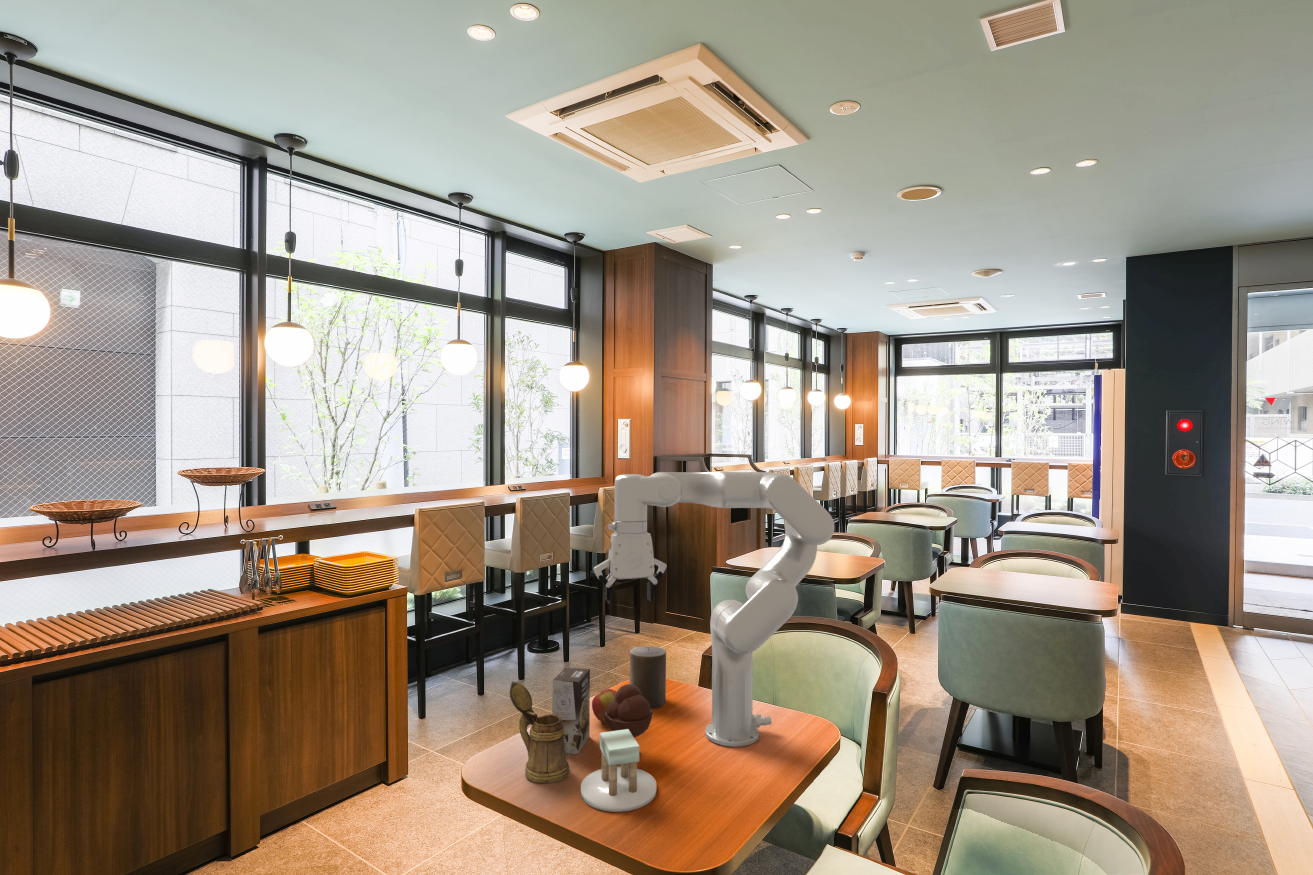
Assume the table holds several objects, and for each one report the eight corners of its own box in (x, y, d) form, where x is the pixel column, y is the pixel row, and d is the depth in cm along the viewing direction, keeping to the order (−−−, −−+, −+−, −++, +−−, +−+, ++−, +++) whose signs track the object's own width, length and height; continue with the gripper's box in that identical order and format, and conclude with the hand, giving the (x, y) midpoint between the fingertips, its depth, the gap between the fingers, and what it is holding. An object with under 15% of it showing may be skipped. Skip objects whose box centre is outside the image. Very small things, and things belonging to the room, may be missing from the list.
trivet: (643, 767, 143) (643, 761, 143) (666, 804, 129) (666, 797, 129) (573, 778, 138) (573, 772, 138) (589, 817, 124) (589, 811, 124)
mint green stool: (639, 792, 131) (639, 745, 131) (609, 796, 129) (609, 750, 129) (628, 772, 138) (628, 728, 138) (599, 776, 136) (599, 732, 136)
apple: (609, 713, 171) (609, 681, 171) (630, 722, 166) (631, 690, 166) (586, 721, 166) (586, 689, 166) (607, 732, 160) (608, 698, 160)
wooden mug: (522, 755, 148) (522, 674, 148) (576, 767, 143) (577, 682, 143) (498, 774, 140) (499, 687, 140) (555, 787, 135) (556, 697, 135)
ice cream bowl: (593, 755, 148) (593, 687, 148) (629, 739, 156) (629, 674, 156) (627, 772, 141) (627, 700, 141) (663, 754, 149) (663, 686, 149)
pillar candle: (653, 712, 172) (654, 653, 172) (621, 704, 177) (622, 647, 177) (672, 700, 180) (673, 644, 180) (641, 693, 185) (642, 638, 185)
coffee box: (578, 754, 149) (579, 681, 149) (551, 751, 150) (551, 679, 150) (590, 736, 158) (591, 668, 158) (564, 734, 159) (565, 666, 159)
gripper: (597, 531, 149) (597, 608, 149) (671, 528, 154) (671, 603, 154) (590, 527, 156) (590, 600, 156) (661, 524, 161) (660, 595, 161)
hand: (630, 601), depth 155 cm, fingers open, 9 cm apart
